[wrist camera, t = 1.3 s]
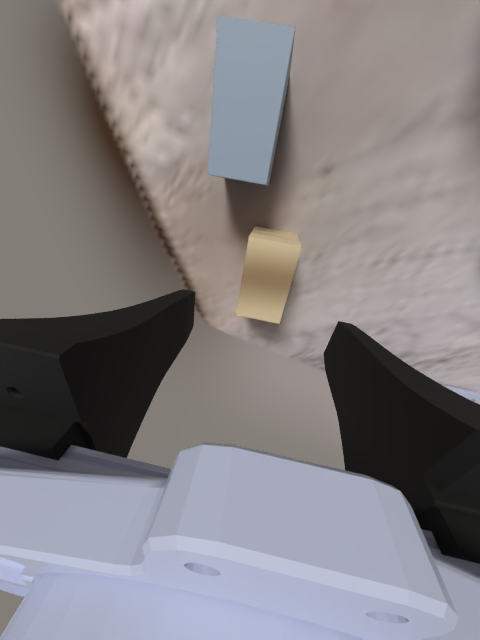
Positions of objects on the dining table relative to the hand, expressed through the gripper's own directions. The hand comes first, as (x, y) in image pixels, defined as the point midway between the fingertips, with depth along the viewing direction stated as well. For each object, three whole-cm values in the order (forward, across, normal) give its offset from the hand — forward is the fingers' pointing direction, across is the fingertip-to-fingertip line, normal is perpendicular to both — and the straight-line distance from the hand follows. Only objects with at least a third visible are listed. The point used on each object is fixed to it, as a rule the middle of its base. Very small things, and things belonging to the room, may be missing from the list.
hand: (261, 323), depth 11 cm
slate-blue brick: (+10, +3, -9) cm, 14 cm away
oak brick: (+10, 0, 0) cm, 10 cm away
